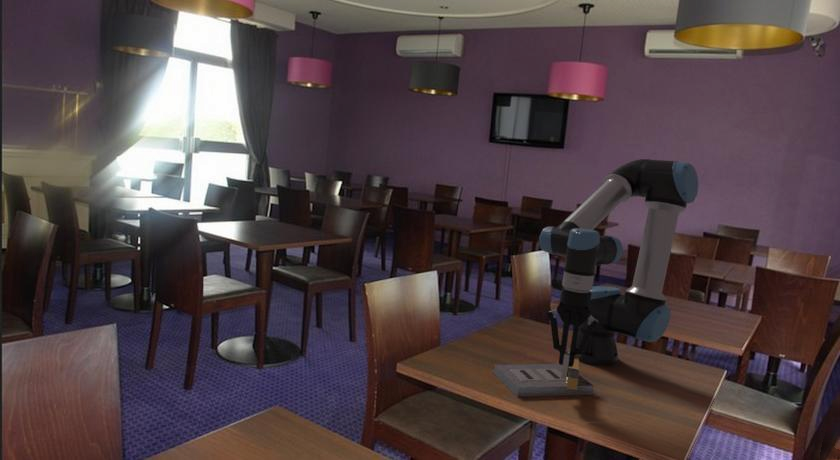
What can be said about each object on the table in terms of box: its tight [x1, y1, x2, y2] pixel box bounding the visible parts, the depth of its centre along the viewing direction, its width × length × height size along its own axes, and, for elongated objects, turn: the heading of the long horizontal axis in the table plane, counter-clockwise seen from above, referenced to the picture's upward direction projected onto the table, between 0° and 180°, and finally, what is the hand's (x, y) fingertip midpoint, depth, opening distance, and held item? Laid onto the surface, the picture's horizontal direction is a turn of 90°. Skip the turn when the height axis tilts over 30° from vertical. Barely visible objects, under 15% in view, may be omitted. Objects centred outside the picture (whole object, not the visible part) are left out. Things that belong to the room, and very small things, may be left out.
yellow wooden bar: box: [567, 348, 581, 390], centre depth 159 cm, size 20×4×5 cm, turn 165°
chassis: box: [493, 363, 595, 398], centre depth 165 cm, size 22×16×5 cm
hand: (564, 377), depth 156 cm, fingers closed
